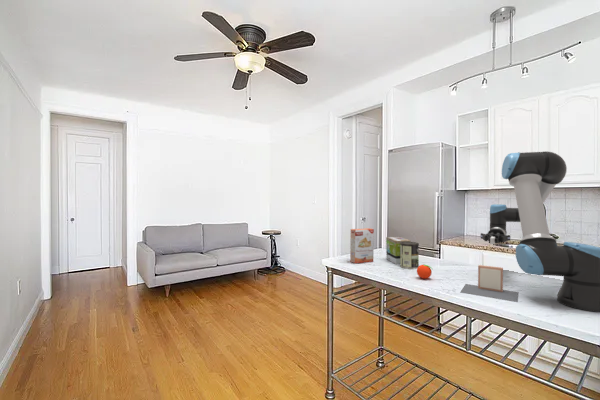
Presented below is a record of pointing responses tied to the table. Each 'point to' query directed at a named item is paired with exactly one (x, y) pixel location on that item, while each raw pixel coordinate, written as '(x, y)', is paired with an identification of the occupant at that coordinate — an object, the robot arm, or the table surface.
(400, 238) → the tea box
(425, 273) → the clementine
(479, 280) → the tile
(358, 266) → the table surface
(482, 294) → the mat
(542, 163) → the robot arm
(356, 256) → the cracker box
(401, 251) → the coffee can
